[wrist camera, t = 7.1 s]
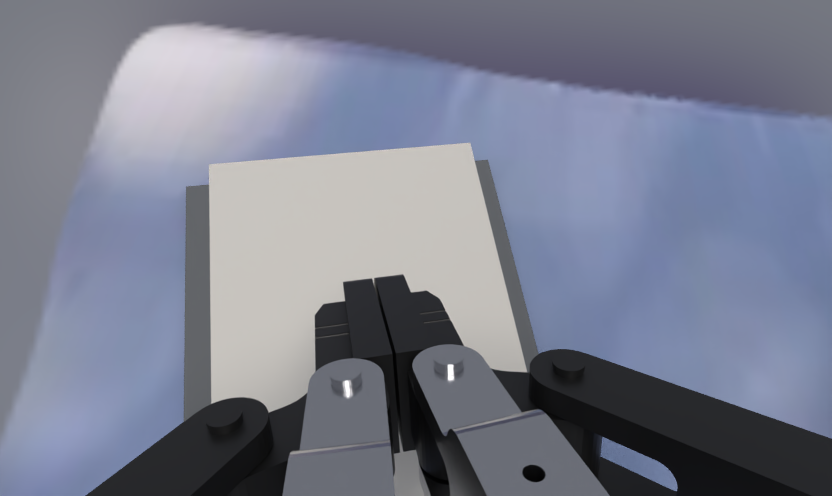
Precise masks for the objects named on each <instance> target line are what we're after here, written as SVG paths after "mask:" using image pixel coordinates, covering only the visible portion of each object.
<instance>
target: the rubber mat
mask: <svg viewBox="0 0 832 496" xmlns="http://www.w3.org/2000/svg"><path fill="white" fill-rule="evenodd" d="M475 164H476V168H477V172H478V176H479V180H480V184H481V188H482V192H483V196H484V200H485V204H486V208H487V212H488V217H489V221H490V225H491V229H492V233H493V237H494V241H495V245H496V249H497V253H498V257H499V261H500V265H501V269H502V273H503V277H504V281H505V285H506V289H507V293H508V297H509V301H510V305H511V309H512V313H513V317H514V321H515V325H516V329H517V333H518V337H519V341H520V345H521V349H522V353H523V357H524V361H525V365H526V369H527V372H529V368H530V363H531V361H532V359H533V358H534V357H535V356H537V355H538V350H537V347H536V343H535V339H534V335H533V331H532V327H531V324H530V320H529V316H528V312H527V308H526V304H525V301H524V297H523V293H522V289H521V285H520V281H519V278H518V274H517V270H516V266H515V262H514V258H513V255H512V251H511V247H510V243H509V239H508V236H507V232H506V228H505V224H504V220H503V216H502V213H501V209H500V205H499V201H498V197H497V193H496V190H495V186H494V182H493V178H492V174H491V170H490V167H489V163H488V160H481V161H475ZM210 404H211V319H210V218H209V185H200V186H188V187H186V260H185V357H184V421H186V420H187V419H188V418H190V417H191V416H192V415H194V414H195V413H196V412H198V411H199V410H201V409H202V408H204V407H206V406H208V405H210Z"/></svg>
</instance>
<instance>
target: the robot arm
mask: <svg viewBox="0 0 832 496" xmlns="http://www.w3.org/2000/svg"><path fill="white" fill-rule="evenodd" d="M343 288H344V297H345V301H342V302H334V303H327V304H323V305H322V306H321V308H320V309H319V310H318V312H317V313H316V314H315V373H314V374H313V375H312V376H311V378H310V380H309V384H308V391H307V393H306V394H305V395H304V396H303V397H301V398H300V399H298V400H297V401H295V402H293V403H291V404H289V405H287V406H285V407H282V408H280V409H277V410H274V411H272V412H269V413H268V410H267V407H266V406H265V405H264V404H263V403H262V402H260V401H258V400H256V399H252V398H246V397H236V398H229V399H224V400H221V401H218V402H215V403H212V404H210V405H208V406H206V407H204V408H202V409H201V410H199V411H198V412H196V413H195V414H194V415H192V416H191V417H190V418H188V419H187V420H186V421H184V422H183V423H182V424H180V425H179V426H178V427H176V428H175V429H174V430H172V431H171V432H170V433H168V434H167V435H166V436H164V437H163V438H162V439H160V440H159V441H158V442H156V443H155V444H154V445H152V446H151V447H150V448H148V449H147V450H146V451H145V452H143V453H142V454H141V455H139V456H138V457H137V458H135V459H134V460H133V461H131V462H130V463H129V464H127V465H126V466H125V467H123V468H122V469H121V470H119V471H118V472H117V473H115V474H114V475H113V476H111V477H110V478H109V479H107V480H106V481H105V482H103V483H102V484H101V485H99V486H98V487H97V488H95V489H94V490H93V491H91V492H90V493H89V494H87V495H86V496H395V488H394V478H393V477H394V474H395V460H394V454H396V453H400V444H399V435H400V439H401V444H402V448H403V452H406V451H412V450H416V452H417V456H418V464H419V480H420V484H421V487H422V490H423V492H424V495H425V496H832V439H831V438H828V437H825V436H822V435H819V434H816V433H813V432H810V431H808V430H805V429H802V428H799V427H796V426H793V425H790V424H787V423H784V422H782V421H779V420H776V419H773V418H770V417H767V416H764V415H761V414H759V413H756V412H753V411H750V410H747V409H744V408H741V407H738V406H736V405H733V404H730V403H727V402H724V401H721V400H718V399H715V398H712V397H710V396H707V395H704V394H701V393H698V392H695V391H692V390H689V389H687V388H684V387H681V386H678V385H675V384H672V383H669V382H666V381H664V380H661V379H658V378H655V377H652V376H649V375H646V374H643V373H640V372H638V371H635V370H632V369H629V368H626V367H623V366H620V365H617V364H615V363H612V362H609V361H606V360H603V359H600V358H597V357H594V356H592V355H589V354H586V353H583V352H579V351H574V350H567V349H556V350H549V351H545V352H542V353H540V354H538V355H537V356H535V357H534V358H533V359H532V361H531V363H530V368H529V372H511V371H501V370H495V369H492V368H490V367H489V365H488V364H487V362H486V361H485V360H484V358H483V357H482V356H481V355H480V354H479V353H478V352H477V351H475V350H473V349H471V348H468V347H465V346H464V345H463V343H462V341H461V339H460V337H459V335H458V333H457V331H456V329H455V327H454V325H453V323H452V321H451V320H450V318H449V316H448V314H447V312H446V311H445V308H444V306H443V304H442V302H441V300H440V299H439V298H438V297H436V296H435V295H433V294H431V293H430V292H428V291H427V290H426V291H419V292H411V291H410V289H409V287H408V284H407V282H406V279H405V277H404V275H403V274H401V275H393V276H385V277H377V278H374V283H373V280H372V278H369V279H361V280H353V281H345V282H343ZM602 437H605V438H607V439H609V440H611V441H614V442H616V443H618V444H621V445H623V446H625V447H627V448H630V449H632V450H634V451H636V452H639V453H641V454H643V455H645V456H648V457H650V458H652V459H654V460H657V461H658V462H660V463H662V464H663V465H665V466H666V467H667V468H668V469H669V470H670V471H671V472H672V474H673V475H674V477H675V479H676V481H677V485H678V490H677V491H673V490H671V489H669V488H666V487H664V486H662V485H660V484H658V483H656V482H654V481H651V480H649V479H647V478H645V477H643V476H641V475H639V474H637V473H634V472H632V471H630V470H628V469H626V468H624V467H622V466H619V465H617V464H615V463H613V462H611V461H609V460H607V459H605V458H602V457H600V455H601V445H602Z"/></svg>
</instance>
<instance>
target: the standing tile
mask: <svg viewBox="0 0 832 496" xmlns="http://www.w3.org/2000/svg"><path fill="white" fill-rule="evenodd" d="M209 218H210V319H211V404H212V403H215V402H218V401H221V400H224V399H229V398H236V397H246V398H252V399H256V400H258V401H260V402H262V403H263V404H264V405H265V406H266V407H267V410H268V413H269V412H272V411H274V410H277V409H280V408H282V407H285V406H287V405H289V404H291V403H293V402H295V401H297V400H298V399H300V398H301V397H303V396H304V395H305V394H306V393H307V391H308V384H309V380H310V378H311V376H312V375H313V374H314V373H315V314H316V313H317V312H318V310H319V309H320V308H321V306H322V305H323V304H327V303H334V302H342V301H345V297H344V288H343V282H345V281H353V280H361V279H369V278H372V280H373V283H374V278H377V277H385V276H393V275H401V274H403V275H404V277H405V279H406V282H407V284H408V287H409V289H410V291H411V292H419V291H426V290H427V291H428V292H430V293H431V294H433V295H435V296H436V297H438V298H439V299H440V300H441V302H442V304H443V306H444V308H445V311H446V312H447V314H448V316H449V318H450V320H451V321H452V323H453V325H454V327H455V329H456V331H457V333H458V335H459V337H460V339H461V341H462V343H463V345H464V346H465V347H468V348H471V349H473V350H475V351H477V352H478V353H479V354H480V355H481V356H482V357H483V358H484V360H485V361H486V362H487V364H488V365H489V367H490V368H492V369H495V370H501V371H511V372H527V369H526V365H525V361H524V357H523V353H522V349H521V345H520V341H519V337H518V333H517V329H516V325H515V321H514V317H513V313H512V309H511V305H510V301H509V297H508V293H507V289H506V285H505V281H504V277H503V273H502V269H501V265H500V261H499V257H498V253H497V249H496V245H495V241H494V237H493V233H492V229H491V225H490V221H489V217H488V212H487V208H486V204H485V200H484V196H483V192H482V188H481V184H480V180H479V176H478V172H477V168H476V164H475V160H474V156H473V152H472V148H471V144H470V143H462V144H450V145H438V146H426V147H414V148H402V149H389V150H377V151H365V152H353V153H341V154H329V155H317V156H305V157H293V158H281V159H269V160H257V161H245V162H233V163H221V164H209ZM399 444H400V453H396V454H394V460H395V474H394V477H393V478H394V488H395V496H425V495H424V492H423V490H422V487H421V484H420V480H419V464H418V456H417V452H416V450H412V451H406V452H403V448H402V444H401V439H400V435H399Z"/></svg>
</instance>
